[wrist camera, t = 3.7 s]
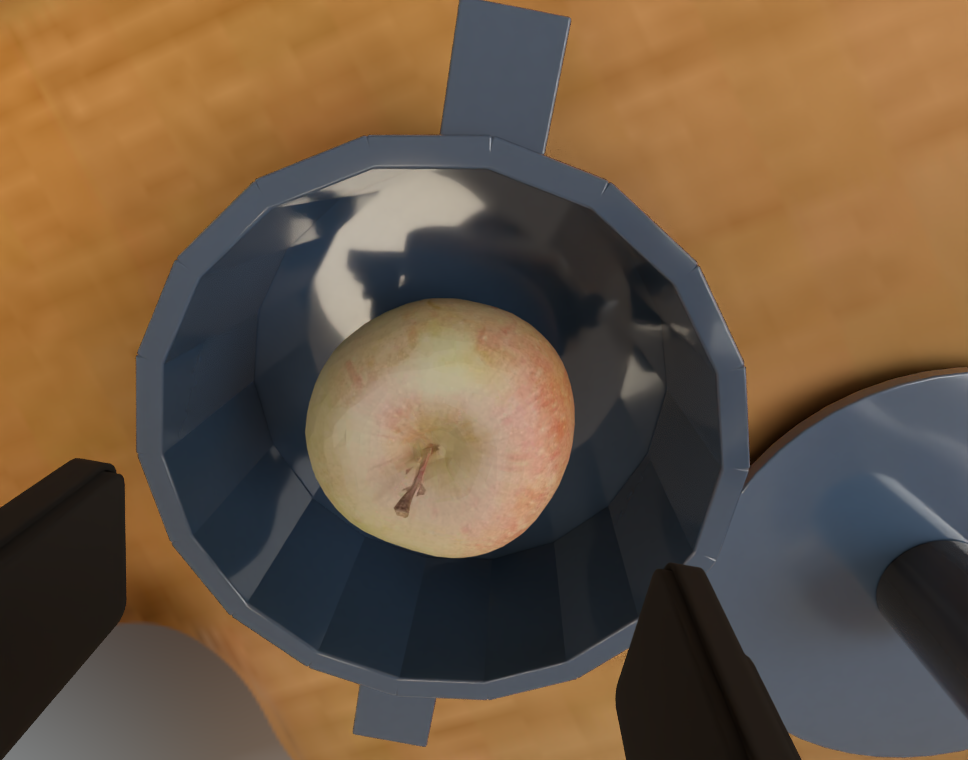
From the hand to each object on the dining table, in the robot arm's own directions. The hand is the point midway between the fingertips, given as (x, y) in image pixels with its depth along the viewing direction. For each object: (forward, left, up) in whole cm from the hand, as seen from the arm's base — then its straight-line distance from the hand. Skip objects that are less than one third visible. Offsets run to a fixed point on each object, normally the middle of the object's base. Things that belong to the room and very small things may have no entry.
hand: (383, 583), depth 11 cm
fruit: (0, 0, -11) cm, 11 cm away
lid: (-18, +4, -11) cm, 22 cm away
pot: (0, 0, -12) cm, 12 cm away
